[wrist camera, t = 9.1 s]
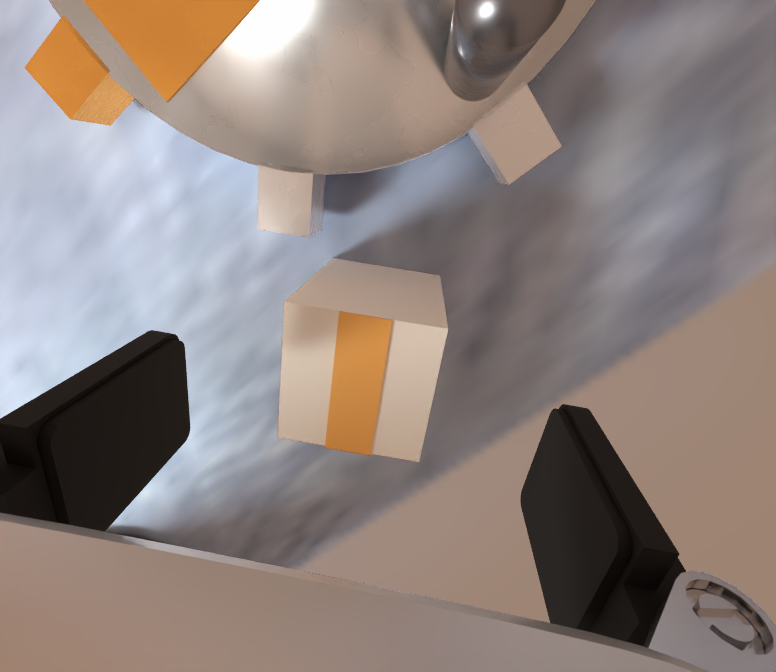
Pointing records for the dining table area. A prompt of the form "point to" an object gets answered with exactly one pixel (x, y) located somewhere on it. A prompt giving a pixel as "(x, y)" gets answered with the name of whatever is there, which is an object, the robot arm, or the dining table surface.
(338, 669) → the robot arm
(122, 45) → the sprocket
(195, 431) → the dining table surface
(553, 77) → the dining table surface
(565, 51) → the dining table surface
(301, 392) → the link block
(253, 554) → the dining table surface
